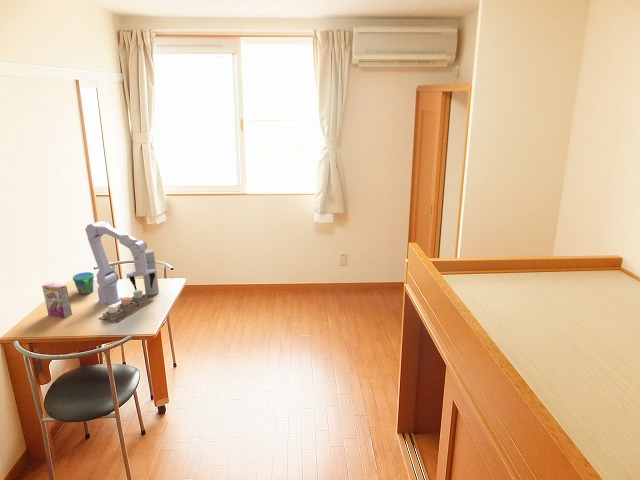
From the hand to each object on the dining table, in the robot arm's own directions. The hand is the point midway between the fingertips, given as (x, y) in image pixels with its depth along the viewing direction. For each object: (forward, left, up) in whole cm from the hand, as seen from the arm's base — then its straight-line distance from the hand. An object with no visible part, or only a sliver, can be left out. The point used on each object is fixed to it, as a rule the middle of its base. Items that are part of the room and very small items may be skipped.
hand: (143, 288), depth 234 cm
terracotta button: (-6, -7, -8) cm, 12 cm away
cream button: (-6, -16, -8) cm, 19 cm away
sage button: (-6, +2, -8) cm, 10 cm away
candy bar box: (-34, -23, -10) cm, 43 cm away
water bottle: (-8, +14, -10) cm, 19 cm away
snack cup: (-44, +3, -10) cm, 46 cm away
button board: (-6, -7, -10) cm, 14 cm away
